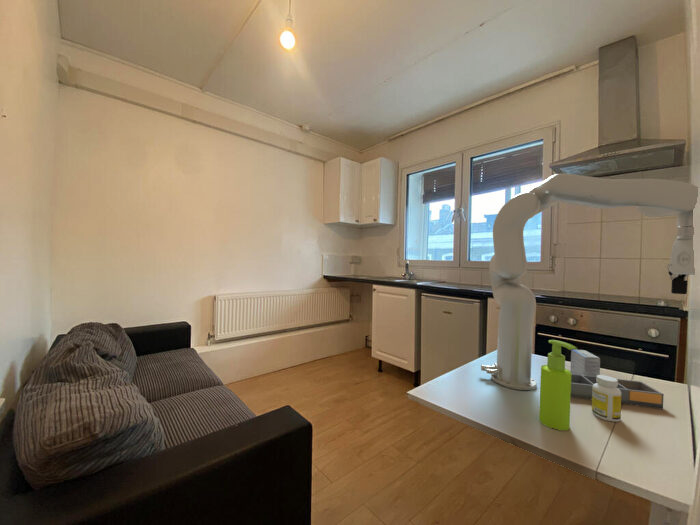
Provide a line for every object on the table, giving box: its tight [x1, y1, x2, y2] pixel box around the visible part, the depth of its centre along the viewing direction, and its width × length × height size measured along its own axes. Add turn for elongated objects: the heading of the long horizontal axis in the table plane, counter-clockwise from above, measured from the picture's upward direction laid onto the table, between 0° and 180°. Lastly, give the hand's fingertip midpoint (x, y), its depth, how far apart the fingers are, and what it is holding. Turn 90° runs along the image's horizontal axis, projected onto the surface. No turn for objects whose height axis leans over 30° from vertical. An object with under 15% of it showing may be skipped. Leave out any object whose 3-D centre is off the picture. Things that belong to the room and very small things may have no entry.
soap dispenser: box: [538, 339, 578, 432], centre depth 66 cm, size 6×7×20 cm
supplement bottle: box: [591, 374, 622, 423], centre depth 70 cm, size 5×5×10 cm
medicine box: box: [570, 349, 601, 377], centre depth 93 cm, size 8×4×9 cm, turn 168°
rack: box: [571, 374, 664, 410], centre depth 81 cm, size 23×8×4 cm, turn 75°
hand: (694, 295), depth 77 cm, fingers open, 9 cm apart
